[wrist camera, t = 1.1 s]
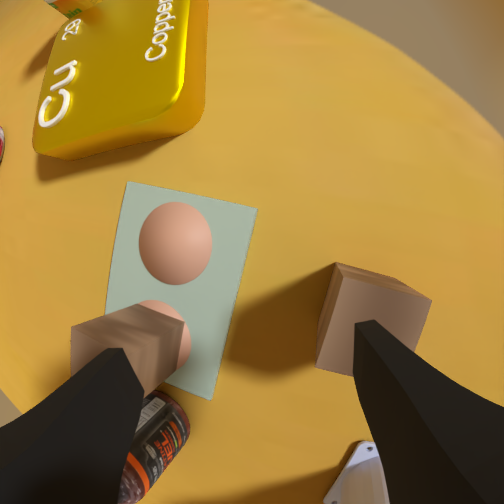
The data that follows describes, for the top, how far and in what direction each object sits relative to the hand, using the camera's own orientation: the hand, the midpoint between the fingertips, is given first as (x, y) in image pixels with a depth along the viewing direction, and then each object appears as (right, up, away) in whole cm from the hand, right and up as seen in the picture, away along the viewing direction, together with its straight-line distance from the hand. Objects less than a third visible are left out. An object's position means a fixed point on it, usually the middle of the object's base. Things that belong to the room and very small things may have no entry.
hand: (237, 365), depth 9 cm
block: (-7, -3, +12) cm, 14 cm away
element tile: (-10, +19, +13) cm, 25 cm away
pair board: (-6, +1, +12) cm, 14 cm away
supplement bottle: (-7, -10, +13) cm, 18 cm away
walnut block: (+7, 0, +10) cm, 12 cm away
